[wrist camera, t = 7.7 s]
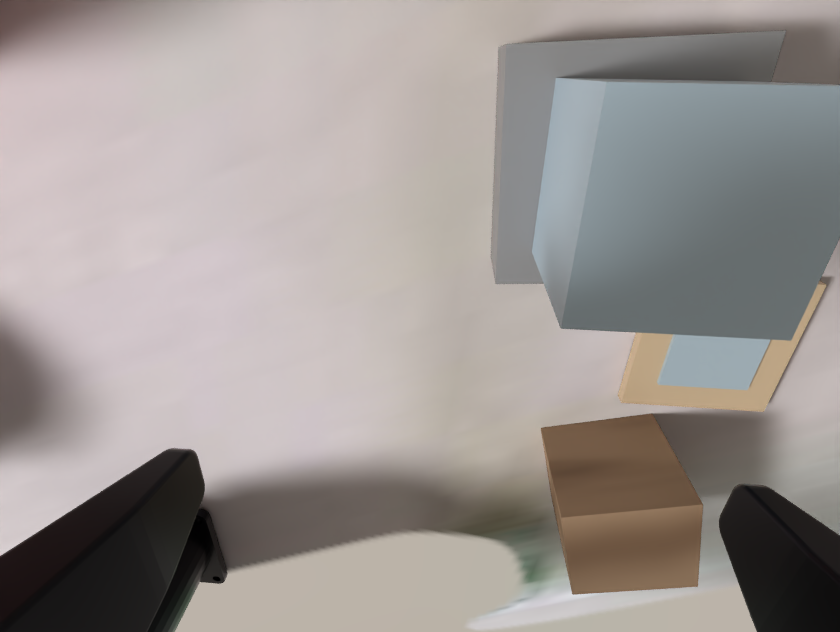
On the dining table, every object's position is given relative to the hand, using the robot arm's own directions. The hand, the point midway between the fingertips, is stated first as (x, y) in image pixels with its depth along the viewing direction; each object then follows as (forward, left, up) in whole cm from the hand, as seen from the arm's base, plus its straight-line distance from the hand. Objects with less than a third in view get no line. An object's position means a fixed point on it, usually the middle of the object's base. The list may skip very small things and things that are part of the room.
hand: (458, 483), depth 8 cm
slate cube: (+3, -5, -9) cm, 11 cm away
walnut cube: (-11, -8, -12) cm, 17 cm away
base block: (+3, -5, -12) cm, 13 cm away
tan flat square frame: (-4, -11, -11) cm, 16 cm away
